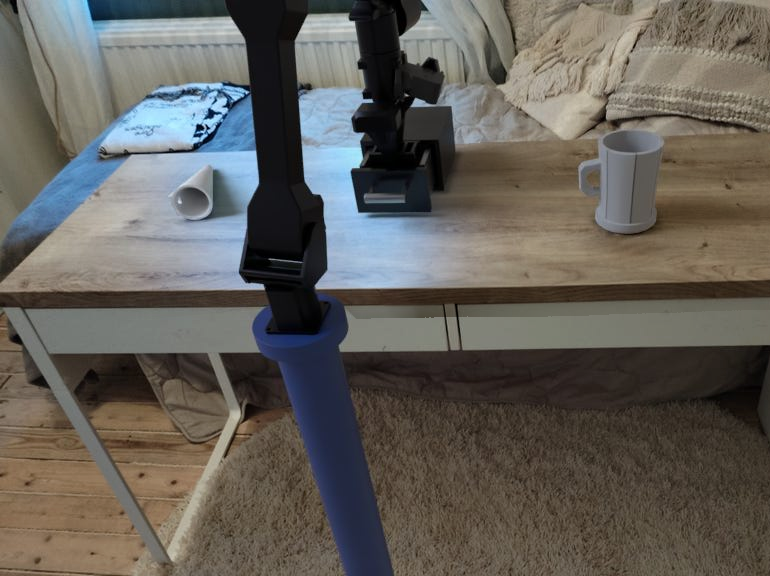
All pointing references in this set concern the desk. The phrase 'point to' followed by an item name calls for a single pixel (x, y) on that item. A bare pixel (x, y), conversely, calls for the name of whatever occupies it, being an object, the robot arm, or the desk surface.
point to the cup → (625, 180)
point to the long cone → (194, 195)
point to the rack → (397, 155)
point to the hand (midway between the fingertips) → (395, 156)
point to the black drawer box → (429, 137)
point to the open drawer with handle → (396, 185)
